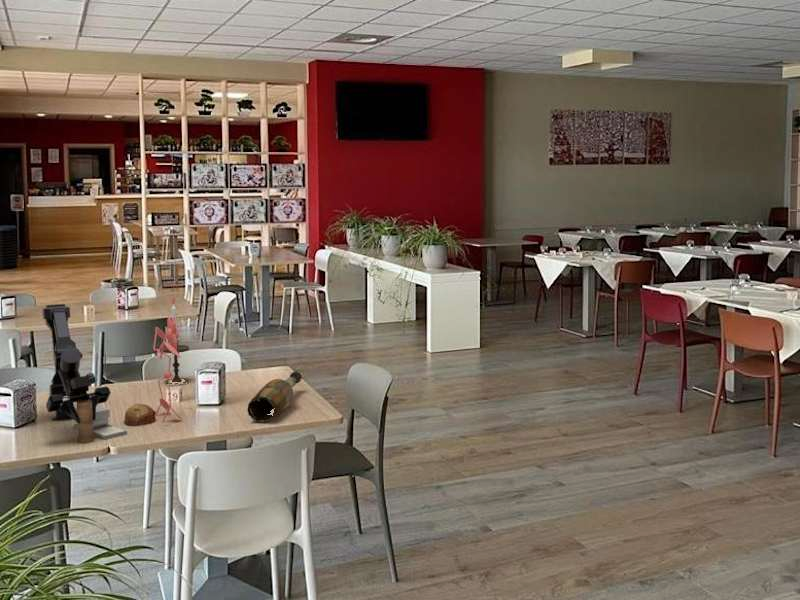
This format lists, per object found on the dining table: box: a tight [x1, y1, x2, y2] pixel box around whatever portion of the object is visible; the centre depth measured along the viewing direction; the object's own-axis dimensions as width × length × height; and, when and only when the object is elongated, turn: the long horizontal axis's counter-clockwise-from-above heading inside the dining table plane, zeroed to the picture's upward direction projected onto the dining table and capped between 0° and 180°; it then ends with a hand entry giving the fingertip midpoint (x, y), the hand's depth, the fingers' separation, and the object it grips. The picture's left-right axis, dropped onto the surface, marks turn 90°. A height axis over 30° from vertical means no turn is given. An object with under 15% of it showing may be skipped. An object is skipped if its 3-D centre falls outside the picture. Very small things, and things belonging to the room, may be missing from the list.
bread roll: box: [123, 403, 157, 427], centre depth 291 cm, size 10×10×8 cm
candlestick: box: [160, 296, 190, 385], centre depth 343 cm, size 11×11×35 cm
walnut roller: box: [76, 400, 95, 444], centre depth 269 cm, size 4×4×12 cm
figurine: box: [152, 315, 198, 427], centre depth 295 cm, size 15×26×35 cm, turn 30°
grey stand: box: [72, 404, 128, 441], centre depth 280 cm, size 20×8×6 cm, turn 47°
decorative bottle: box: [247, 371, 303, 424], centre depth 309 cm, size 11×11×45 cm
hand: (86, 421), depth 268 cm, fingers closed on walnut roller, 4 cm apart
